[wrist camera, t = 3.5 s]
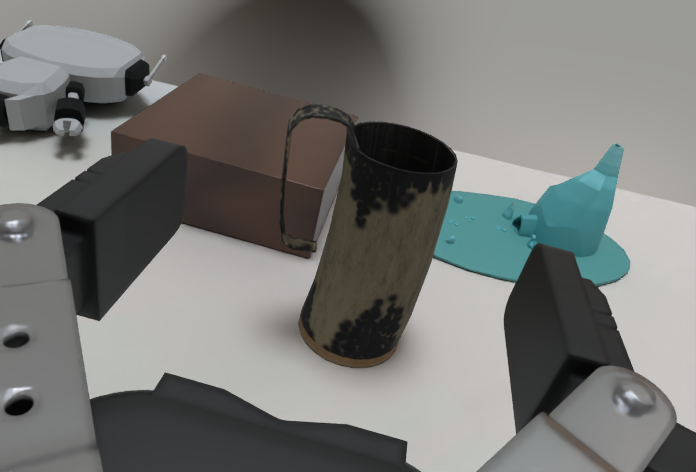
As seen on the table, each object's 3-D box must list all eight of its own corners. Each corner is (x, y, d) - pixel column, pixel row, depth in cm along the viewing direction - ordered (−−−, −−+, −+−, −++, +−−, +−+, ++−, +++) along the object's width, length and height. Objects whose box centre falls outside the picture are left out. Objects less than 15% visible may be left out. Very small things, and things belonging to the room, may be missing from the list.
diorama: (374, 178, 45) (402, 78, 41) (589, 211, 49) (637, 122, 45) (398, 269, 35) (438, 149, 31) (665, 301, 39) (736, 199, 35)
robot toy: (83, 174, 38) (170, 93, 50) (77, 115, 35) (170, 45, 47) (-89, 130, 38) (40, 60, 50) (-108, 68, 35) (32, 9, 47)
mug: (393, 301, 33) (457, 112, 26) (409, 372, 28) (491, 165, 22) (259, 286, 31) (292, 82, 25) (253, 358, 27) (291, 132, 20)
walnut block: (112, 203, 35) (110, 131, 32) (195, 131, 46) (198, 72, 43) (309, 258, 34) (324, 190, 32) (345, 172, 45) (358, 116, 43)
